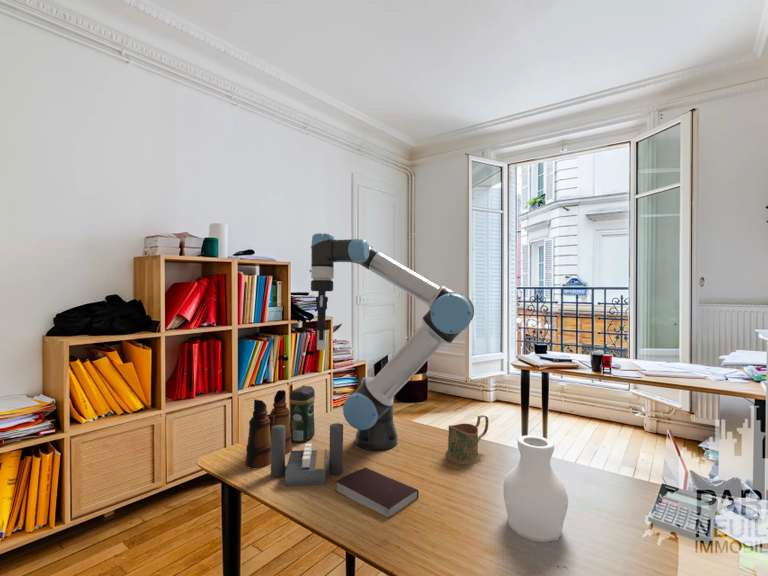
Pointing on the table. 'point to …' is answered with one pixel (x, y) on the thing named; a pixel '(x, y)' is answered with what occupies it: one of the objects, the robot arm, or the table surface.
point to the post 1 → (277, 451)
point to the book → (376, 491)
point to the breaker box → (306, 469)
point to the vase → (535, 492)
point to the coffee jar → (302, 414)
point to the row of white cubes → (307, 455)
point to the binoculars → (266, 431)
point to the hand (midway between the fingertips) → (321, 349)
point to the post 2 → (336, 449)
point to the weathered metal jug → (464, 442)
